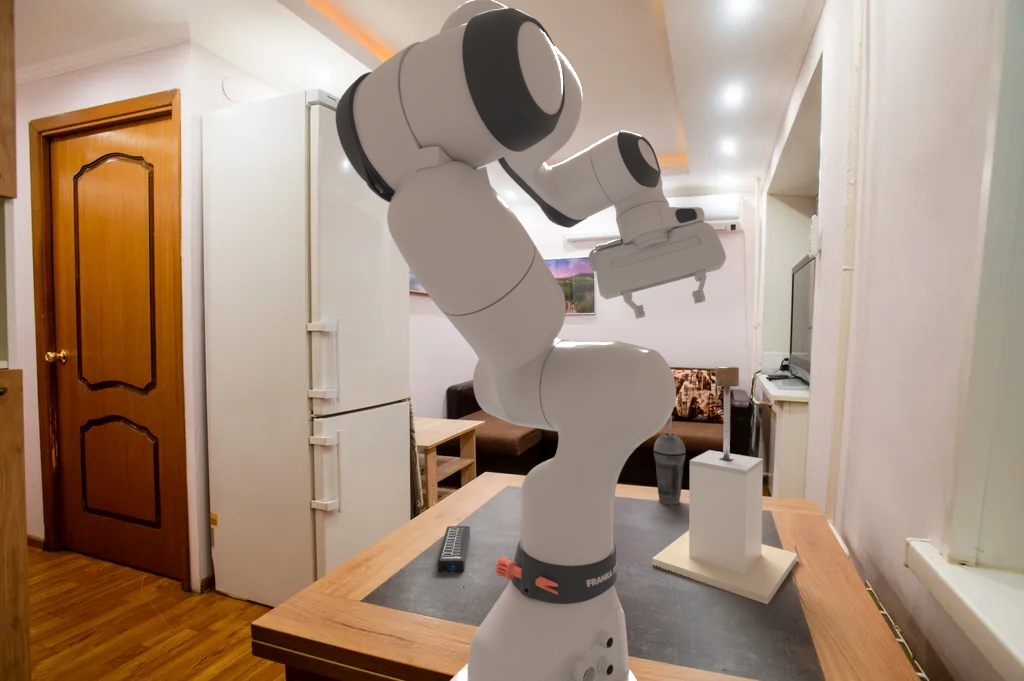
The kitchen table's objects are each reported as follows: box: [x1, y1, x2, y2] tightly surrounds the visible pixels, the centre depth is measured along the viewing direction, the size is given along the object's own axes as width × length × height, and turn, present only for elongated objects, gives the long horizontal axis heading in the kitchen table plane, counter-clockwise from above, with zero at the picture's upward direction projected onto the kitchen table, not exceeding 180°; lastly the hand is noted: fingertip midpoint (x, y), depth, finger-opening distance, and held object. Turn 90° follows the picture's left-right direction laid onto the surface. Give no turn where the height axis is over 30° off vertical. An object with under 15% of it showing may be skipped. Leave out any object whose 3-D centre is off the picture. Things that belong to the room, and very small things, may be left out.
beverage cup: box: [652, 415, 687, 506], centre depth 115 cm, size 7×7×20 cm
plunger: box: [715, 365, 740, 462], centre depth 85 cm, size 7×7×18 cm
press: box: [651, 449, 799, 605], centre depth 85 cm, size 18×18×18 cm
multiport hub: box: [437, 525, 471, 574], centre depth 90 cm, size 4×14×2 cm, turn 1°
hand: (670, 309), depth 80 cm, fingers open, 8 cm apart
